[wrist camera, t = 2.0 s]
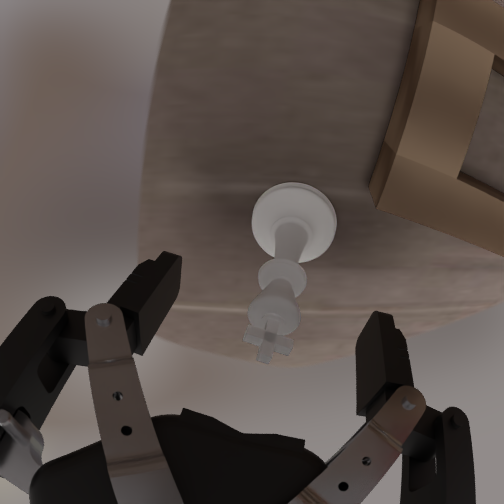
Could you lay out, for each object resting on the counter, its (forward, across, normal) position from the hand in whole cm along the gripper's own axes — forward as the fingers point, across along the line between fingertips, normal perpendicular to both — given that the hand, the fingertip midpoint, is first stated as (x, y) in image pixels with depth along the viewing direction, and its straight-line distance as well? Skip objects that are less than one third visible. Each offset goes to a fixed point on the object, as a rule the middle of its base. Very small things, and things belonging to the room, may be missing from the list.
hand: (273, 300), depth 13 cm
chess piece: (+7, 0, 0) cm, 7 cm away
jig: (+7, -10, -10) cm, 15 cm away
